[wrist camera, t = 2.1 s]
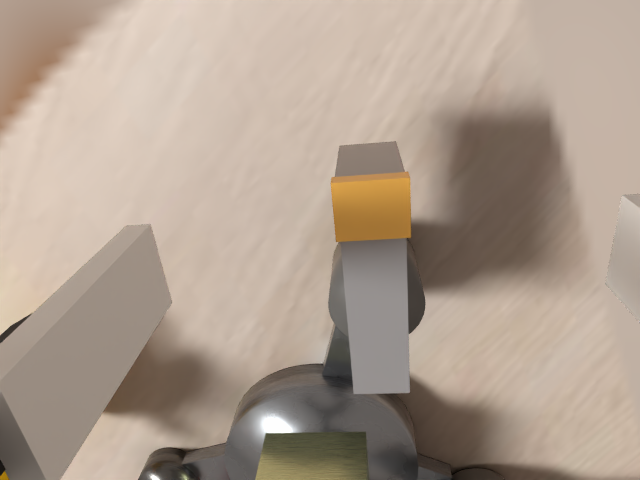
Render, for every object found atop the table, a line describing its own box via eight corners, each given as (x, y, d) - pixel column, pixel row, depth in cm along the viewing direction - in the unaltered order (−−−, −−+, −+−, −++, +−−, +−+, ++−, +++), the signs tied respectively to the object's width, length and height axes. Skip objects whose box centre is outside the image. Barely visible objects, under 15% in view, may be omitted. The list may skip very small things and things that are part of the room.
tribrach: (448, 496, 33) (478, 658, 25) (158, 496, 36) (96, 644, 27) (454, 288, 26) (498, 417, 18) (90, 304, 28) (-22, 425, 20)
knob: (415, 295, 26) (440, 417, 18) (336, 299, 27) (326, 419, 19) (413, 117, 22) (443, 175, 14) (319, 125, 23) (298, 185, 15)
